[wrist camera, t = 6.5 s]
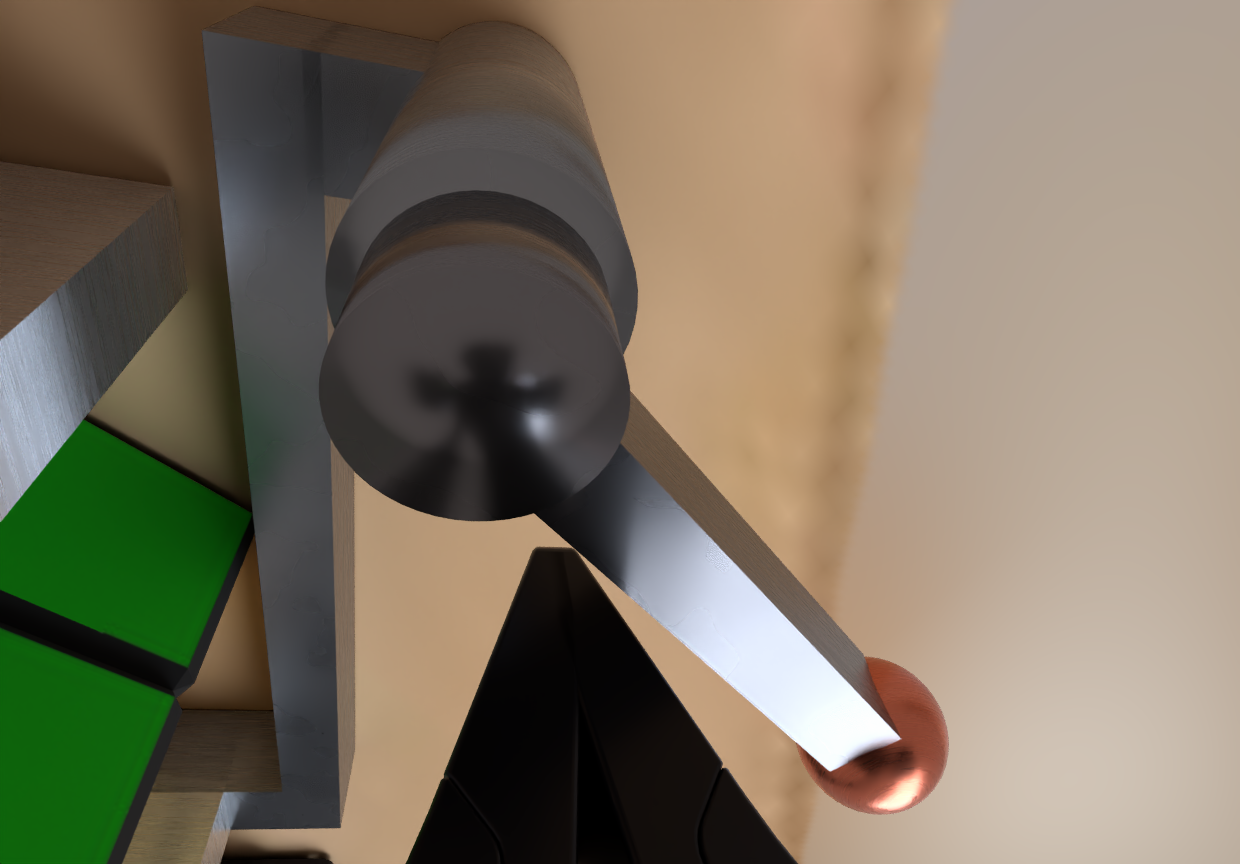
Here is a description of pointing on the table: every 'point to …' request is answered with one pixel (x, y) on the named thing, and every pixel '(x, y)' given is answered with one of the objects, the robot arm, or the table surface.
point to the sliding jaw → (74, 301)
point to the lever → (595, 473)
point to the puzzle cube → (102, 640)
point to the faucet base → (302, 328)
